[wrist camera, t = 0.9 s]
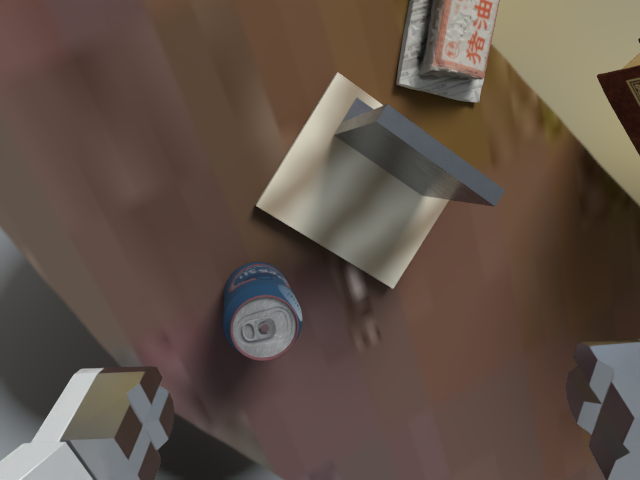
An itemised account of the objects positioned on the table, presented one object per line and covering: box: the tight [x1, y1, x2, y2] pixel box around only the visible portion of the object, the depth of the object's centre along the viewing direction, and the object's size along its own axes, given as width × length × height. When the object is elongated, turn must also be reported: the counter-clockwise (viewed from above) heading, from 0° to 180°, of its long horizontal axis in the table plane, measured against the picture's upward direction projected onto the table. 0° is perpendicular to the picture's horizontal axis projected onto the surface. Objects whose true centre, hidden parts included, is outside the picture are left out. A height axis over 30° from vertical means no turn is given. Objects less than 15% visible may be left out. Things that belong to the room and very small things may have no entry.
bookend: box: [334, 98, 505, 206], centre depth 41 cm, size 12×4×14 cm, turn 58°
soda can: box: [223, 262, 302, 361], centre depth 43 cm, size 7×7×12 cm
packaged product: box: [396, 0, 500, 103], centre depth 46 cm, size 18×5×10 cm
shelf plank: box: [255, 73, 449, 288], centre depth 49 cm, size 18×16×2 cm
